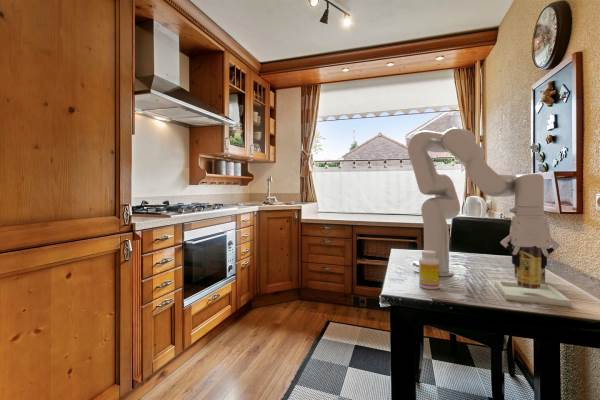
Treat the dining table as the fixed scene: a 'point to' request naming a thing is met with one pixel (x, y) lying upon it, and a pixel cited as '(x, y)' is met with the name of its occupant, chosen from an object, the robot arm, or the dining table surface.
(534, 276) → the sauce bottle
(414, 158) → the robot arm
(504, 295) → the tray
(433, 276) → the supplement bottle
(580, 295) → the dining table surface
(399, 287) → the dining table surface
